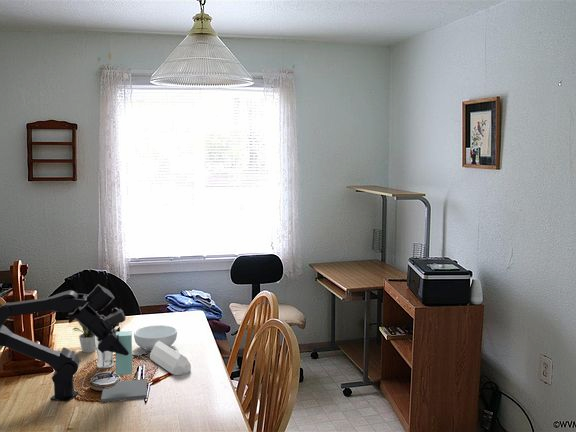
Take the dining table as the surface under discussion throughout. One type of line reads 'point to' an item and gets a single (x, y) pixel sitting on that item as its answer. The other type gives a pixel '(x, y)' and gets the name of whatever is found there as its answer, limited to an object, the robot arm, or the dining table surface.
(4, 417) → the dining table surface
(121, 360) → the teal block
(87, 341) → the house plant
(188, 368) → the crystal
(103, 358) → the beer glass
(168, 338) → the cereal bowl
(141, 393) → the rubber mat
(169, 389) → the dining table surface
